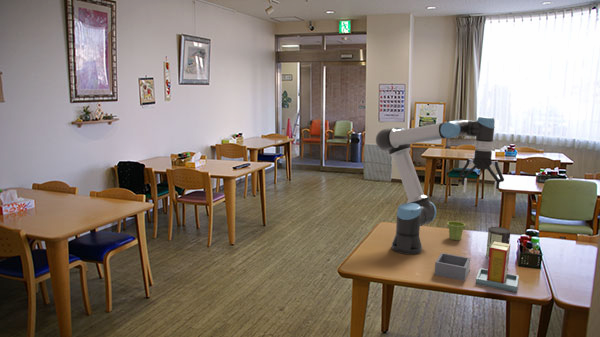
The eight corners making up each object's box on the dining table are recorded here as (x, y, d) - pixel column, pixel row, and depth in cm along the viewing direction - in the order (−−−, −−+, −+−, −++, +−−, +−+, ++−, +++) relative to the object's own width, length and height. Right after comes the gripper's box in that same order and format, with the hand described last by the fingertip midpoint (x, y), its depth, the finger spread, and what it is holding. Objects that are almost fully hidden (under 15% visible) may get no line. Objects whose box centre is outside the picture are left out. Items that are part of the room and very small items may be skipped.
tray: (475, 283, 196) (476, 278, 195) (479, 273, 207) (479, 268, 207) (516, 292, 188) (517, 286, 188) (518, 280, 200) (518, 275, 199)
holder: (434, 274, 204) (435, 262, 203) (440, 264, 216) (441, 252, 215) (464, 281, 198) (465, 268, 197) (469, 270, 210) (470, 258, 209)
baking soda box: (503, 285, 192) (506, 249, 189) (486, 282, 196) (490, 246, 193) (506, 278, 200) (510, 243, 197) (490, 274, 203) (494, 240, 200)
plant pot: (443, 236, 258) (444, 221, 257) (459, 235, 259) (460, 221, 258) (450, 241, 249) (451, 226, 247) (467, 241, 250) (468, 226, 248)
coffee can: (505, 254, 232) (508, 227, 229) (510, 261, 222) (513, 233, 219) (483, 252, 234) (486, 225, 231) (487, 259, 224) (490, 232, 221)
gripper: (454, 148, 218) (451, 191, 222) (511, 153, 207) (507, 198, 211) (457, 146, 225) (453, 188, 228) (512, 151, 213) (508, 195, 217)
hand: (479, 193), depth 220 cm, fingers open, 13 cm apart
